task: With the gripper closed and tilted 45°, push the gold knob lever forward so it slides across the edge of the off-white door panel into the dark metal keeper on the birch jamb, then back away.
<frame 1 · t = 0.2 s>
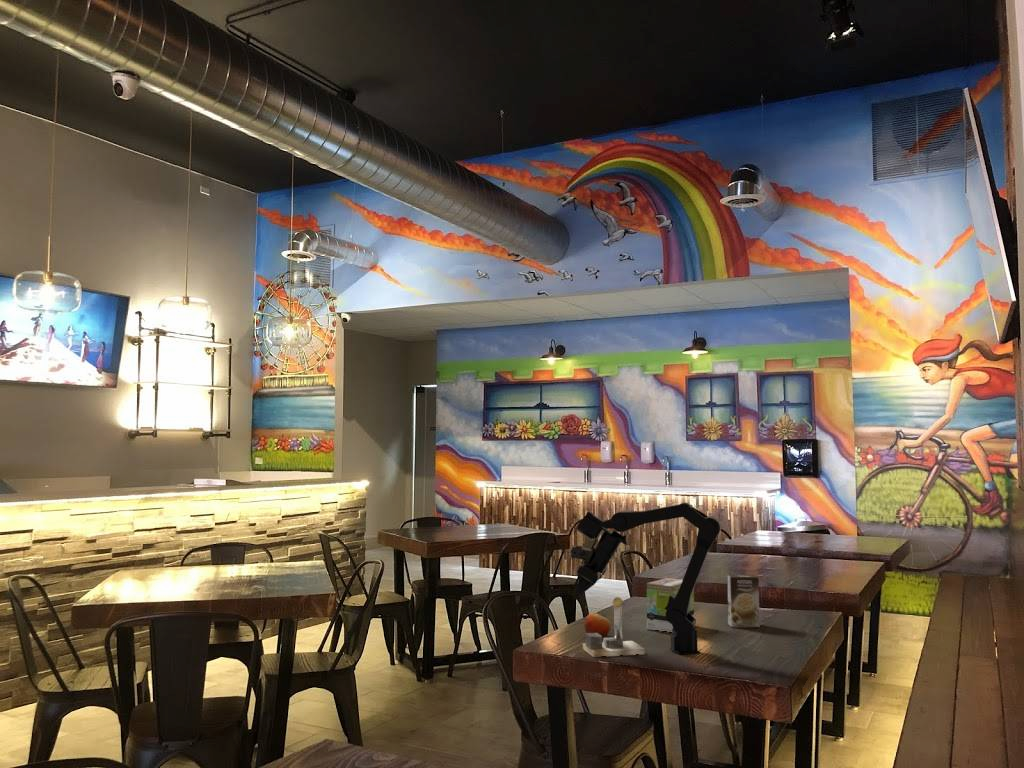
hand: (578, 594, 241), 15 cm above the table, tool tilted 30°, fingers open, 9 cm apart
tea box: (670, 628, 263), on the table
fruit: (597, 637, 251), on the table
coffee box: (743, 626, 265), on the table
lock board: (613, 651, 232), on the table
gold knob lever: (613, 621, 232), point 8 cm above the table, slide at 0.0 cm
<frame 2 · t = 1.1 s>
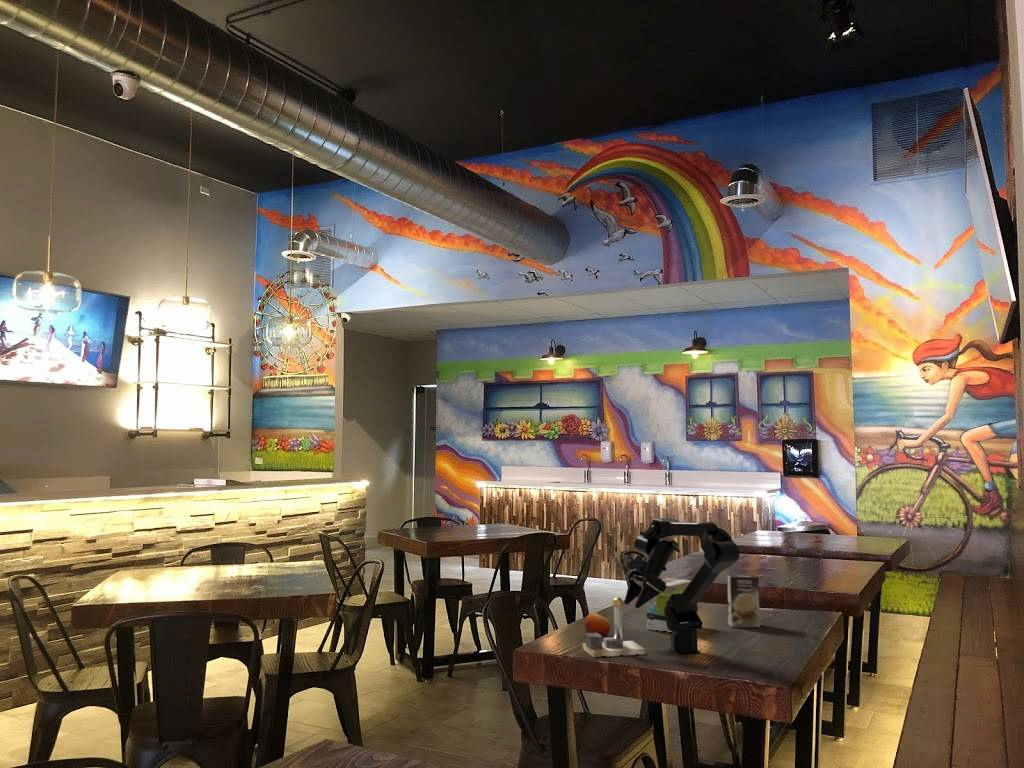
hand: (630, 605, 237), 12 cm above the table, tool tilted 35°, fingers open, 9 cm apart
nothing on the table moved.
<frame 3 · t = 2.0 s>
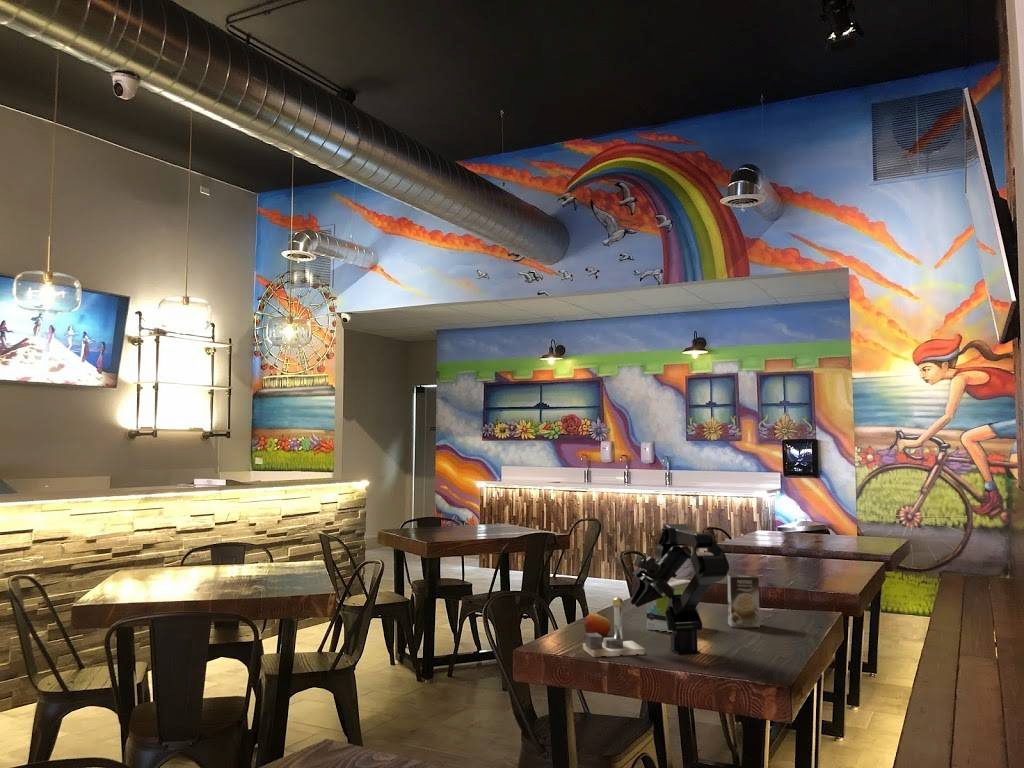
hand: (633, 604, 235), 13 cm above the table, tool tilted 45°, fingers open, 3 cm apart
nothing on the table moved.
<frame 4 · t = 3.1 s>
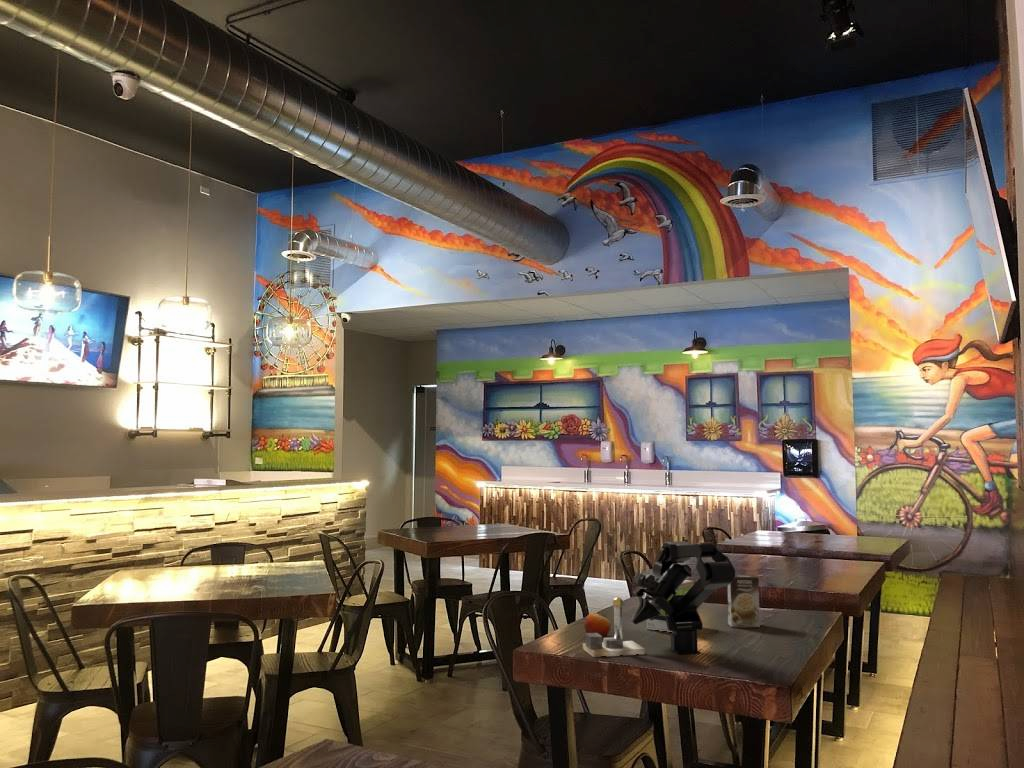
hand: (633, 623, 234), 8 cm above the table, tool tilted 45°, fingers closed
nothing on the table moved.
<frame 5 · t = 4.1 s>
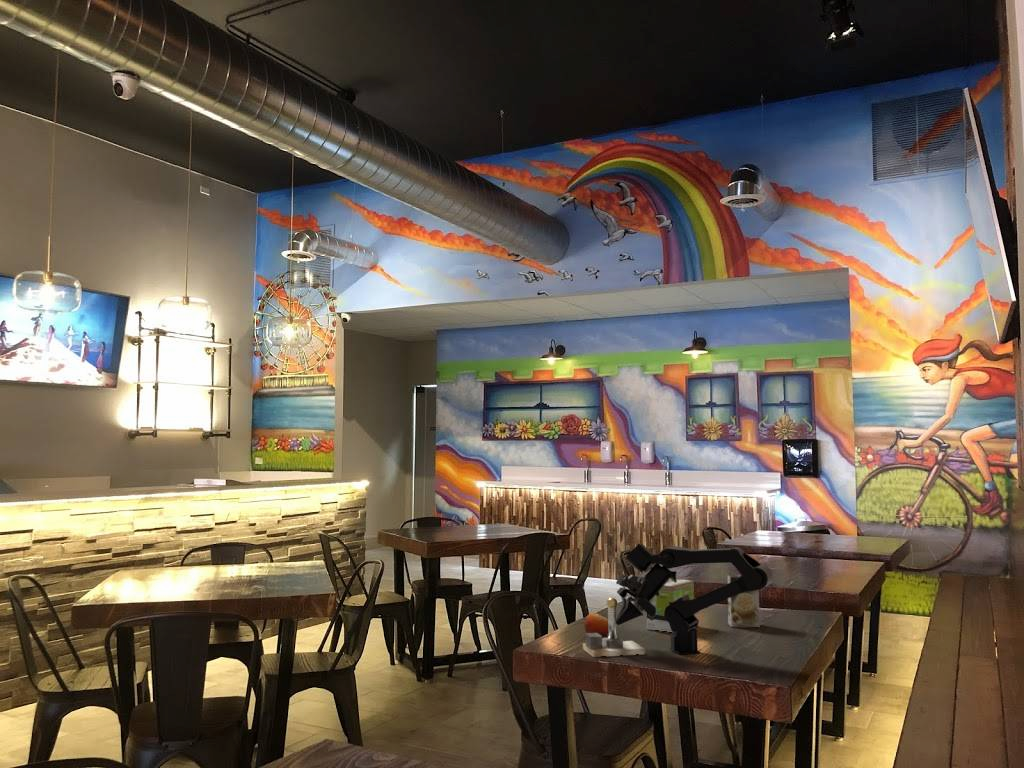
hand: (616, 623, 233), 8 cm above the table, tool tilted 45°, fingers closed
gold knob lever: (607, 621, 232), point 8 cm above the table, slide at 1.8 cm, touching gripper
everything else where it was.
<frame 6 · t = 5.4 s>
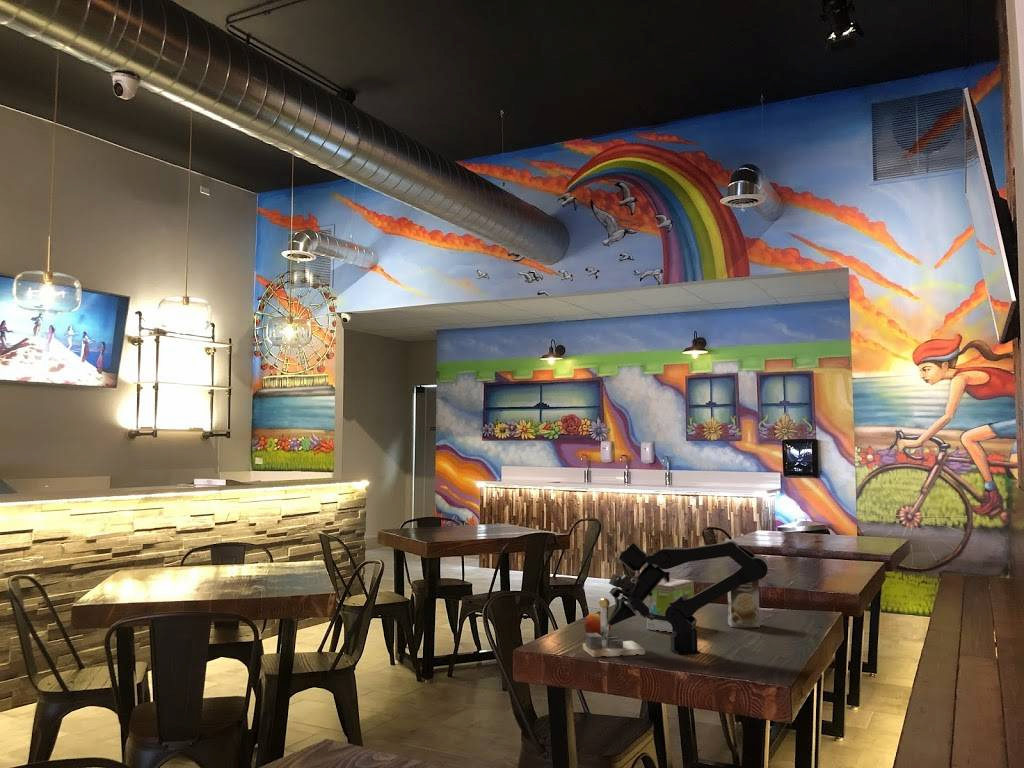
hand: (609, 624, 232), 8 cm above the table, tool tilted 45°, fingers closed
gold knob lever: (600, 622, 232), point 8 cm above the table, slide at 4.0 cm
everything else where it was.
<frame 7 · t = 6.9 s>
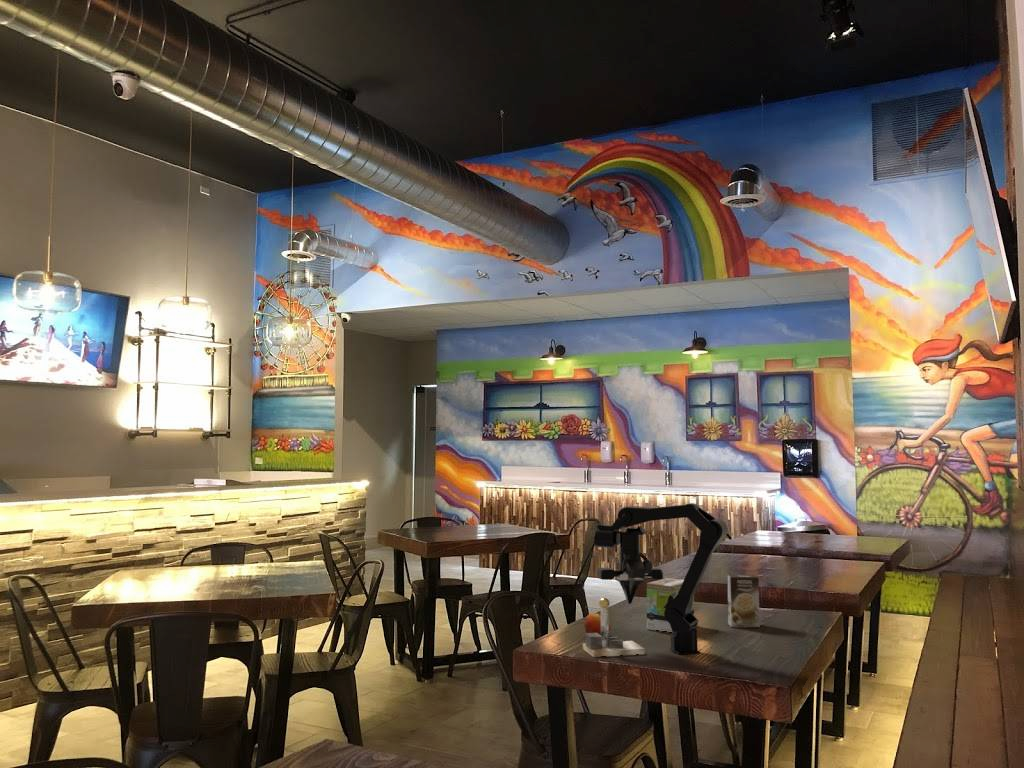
hand: (629, 603, 239), 12 cm above the table, tool pointing down, fingers closed
nothing on the table moved.
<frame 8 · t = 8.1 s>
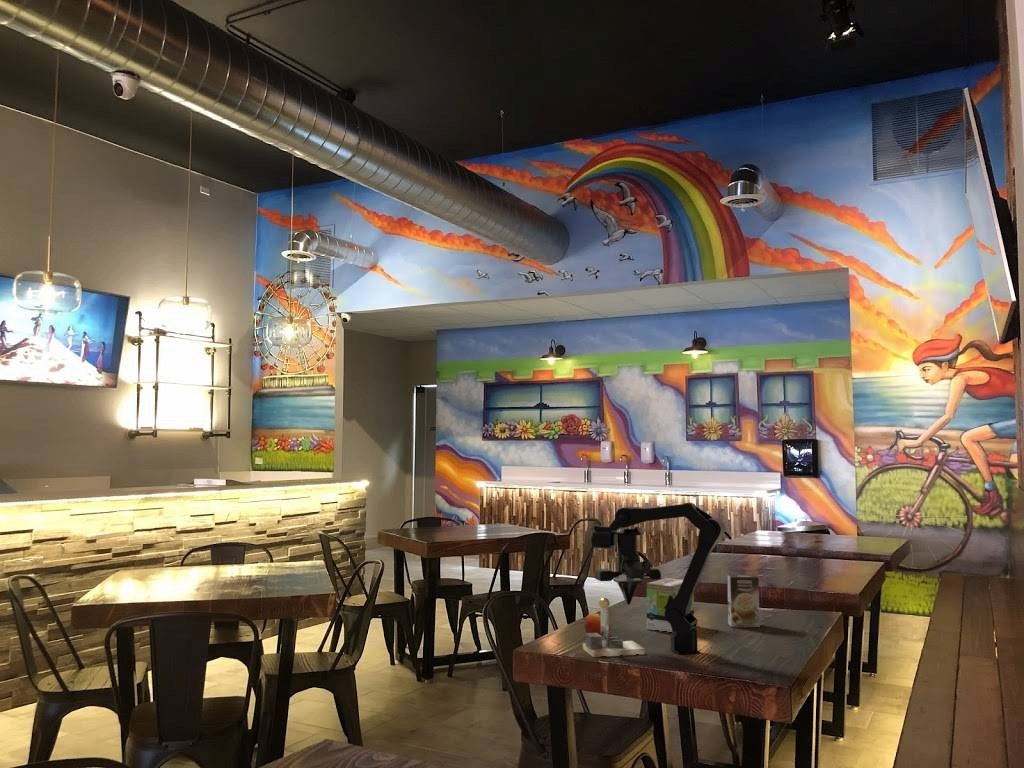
hand: (628, 604, 239), 12 cm above the table, tool pointing down, fingers closed
nothing on the table moved.
at the end: gold knob lever slide at 4.0 cm; fruit moved 0.3 cm from its start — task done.
